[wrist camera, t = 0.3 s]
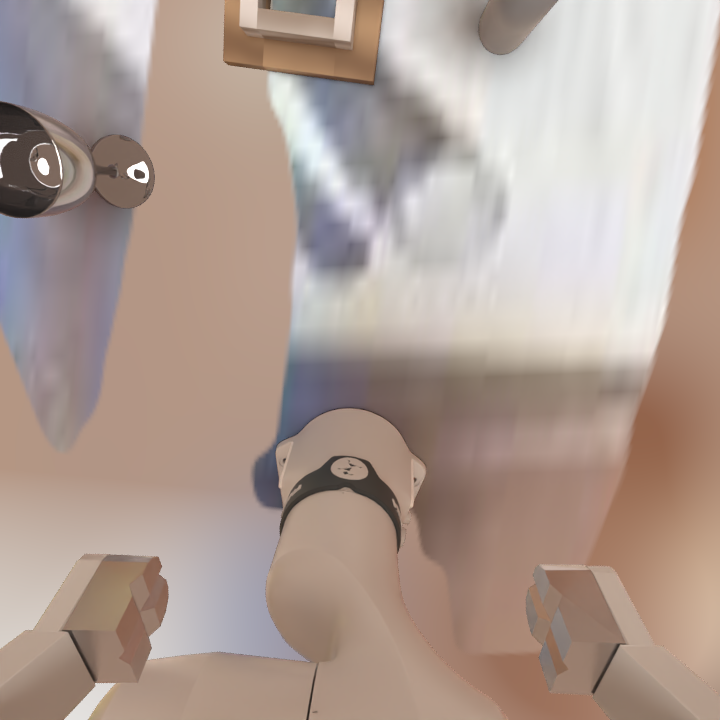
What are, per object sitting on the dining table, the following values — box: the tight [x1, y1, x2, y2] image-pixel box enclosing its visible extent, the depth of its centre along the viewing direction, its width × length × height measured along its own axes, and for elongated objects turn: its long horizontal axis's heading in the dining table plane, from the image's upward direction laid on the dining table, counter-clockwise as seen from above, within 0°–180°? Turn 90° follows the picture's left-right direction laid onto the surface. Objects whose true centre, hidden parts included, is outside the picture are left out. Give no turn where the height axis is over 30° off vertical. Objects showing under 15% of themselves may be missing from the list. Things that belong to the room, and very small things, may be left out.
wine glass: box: [0, 101, 155, 218], centre depth 40 cm, size 8×8×15 cm
